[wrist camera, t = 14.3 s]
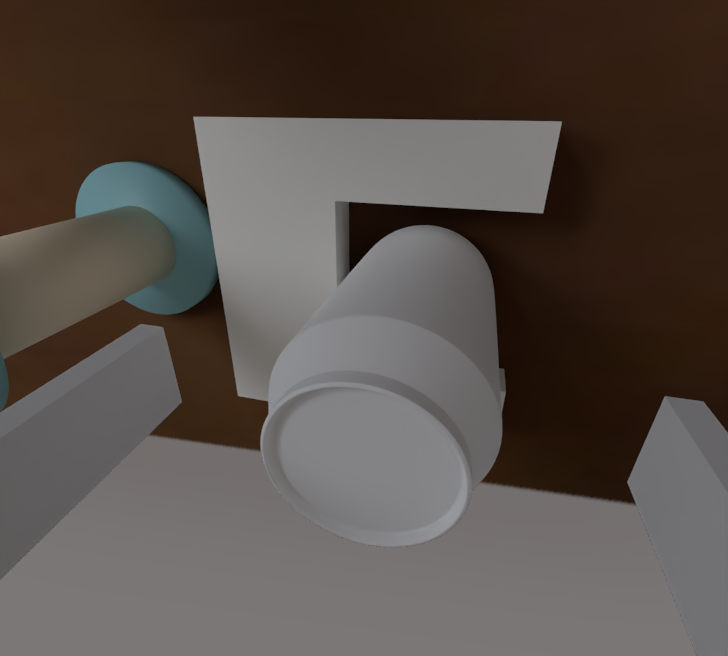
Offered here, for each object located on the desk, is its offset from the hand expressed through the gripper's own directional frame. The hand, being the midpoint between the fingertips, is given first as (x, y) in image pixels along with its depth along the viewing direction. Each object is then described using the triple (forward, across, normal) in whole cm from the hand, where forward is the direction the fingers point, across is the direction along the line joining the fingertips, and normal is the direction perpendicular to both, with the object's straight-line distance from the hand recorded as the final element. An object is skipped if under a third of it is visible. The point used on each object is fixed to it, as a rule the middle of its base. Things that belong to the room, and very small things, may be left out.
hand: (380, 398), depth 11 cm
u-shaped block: (+10, -3, 0) cm, 10 cm away
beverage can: (+10, 0, 0) cm, 10 cm away
